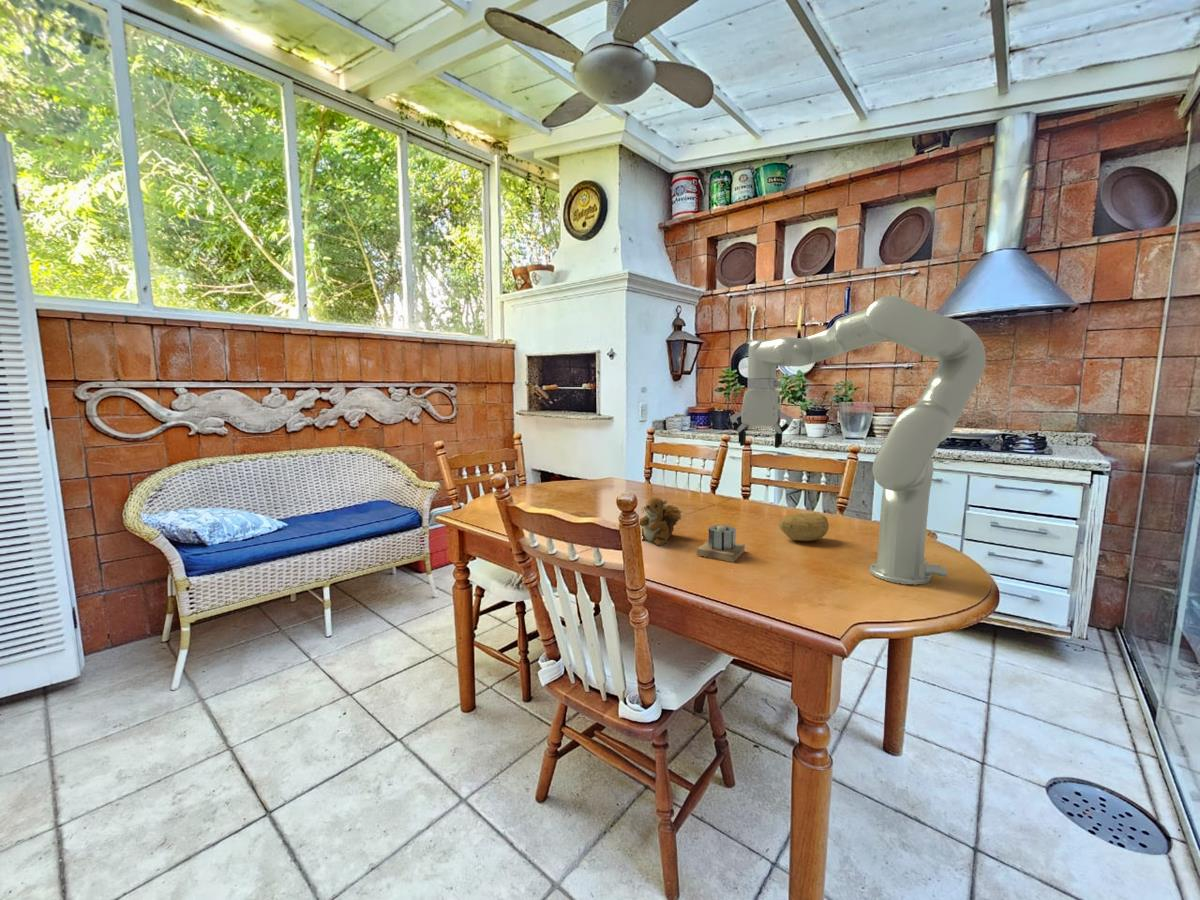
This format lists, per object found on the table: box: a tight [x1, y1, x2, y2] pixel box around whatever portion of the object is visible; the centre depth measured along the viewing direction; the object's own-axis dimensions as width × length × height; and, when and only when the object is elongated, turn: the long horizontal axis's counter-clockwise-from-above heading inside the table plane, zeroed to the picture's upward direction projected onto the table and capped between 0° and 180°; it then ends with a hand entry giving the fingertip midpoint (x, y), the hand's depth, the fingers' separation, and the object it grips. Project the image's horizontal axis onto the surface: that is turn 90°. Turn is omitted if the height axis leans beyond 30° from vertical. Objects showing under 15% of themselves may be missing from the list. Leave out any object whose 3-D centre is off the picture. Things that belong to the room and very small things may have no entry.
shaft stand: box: [696, 525, 746, 563], centre depth 139 cm, size 10×10×8 cm
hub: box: [707, 524, 737, 551], centre depth 139 cm, size 7×7×5 cm
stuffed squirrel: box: [639, 495, 683, 546], centre depth 153 cm, size 10×14×13 cm
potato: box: [778, 512, 830, 542], centre depth 150 cm, size 10×14×8 cm
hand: (759, 446), depth 145 cm, fingers open, 9 cm apart
